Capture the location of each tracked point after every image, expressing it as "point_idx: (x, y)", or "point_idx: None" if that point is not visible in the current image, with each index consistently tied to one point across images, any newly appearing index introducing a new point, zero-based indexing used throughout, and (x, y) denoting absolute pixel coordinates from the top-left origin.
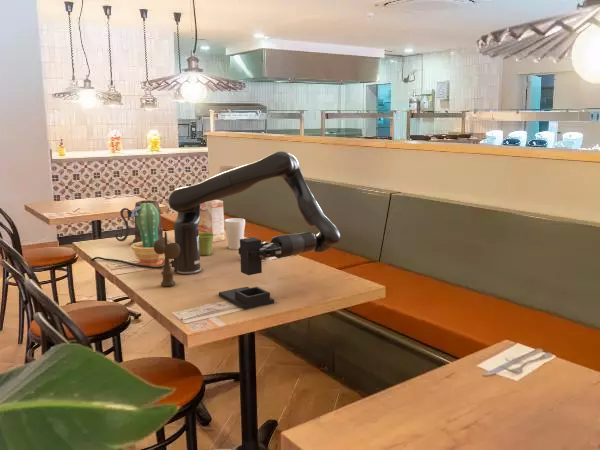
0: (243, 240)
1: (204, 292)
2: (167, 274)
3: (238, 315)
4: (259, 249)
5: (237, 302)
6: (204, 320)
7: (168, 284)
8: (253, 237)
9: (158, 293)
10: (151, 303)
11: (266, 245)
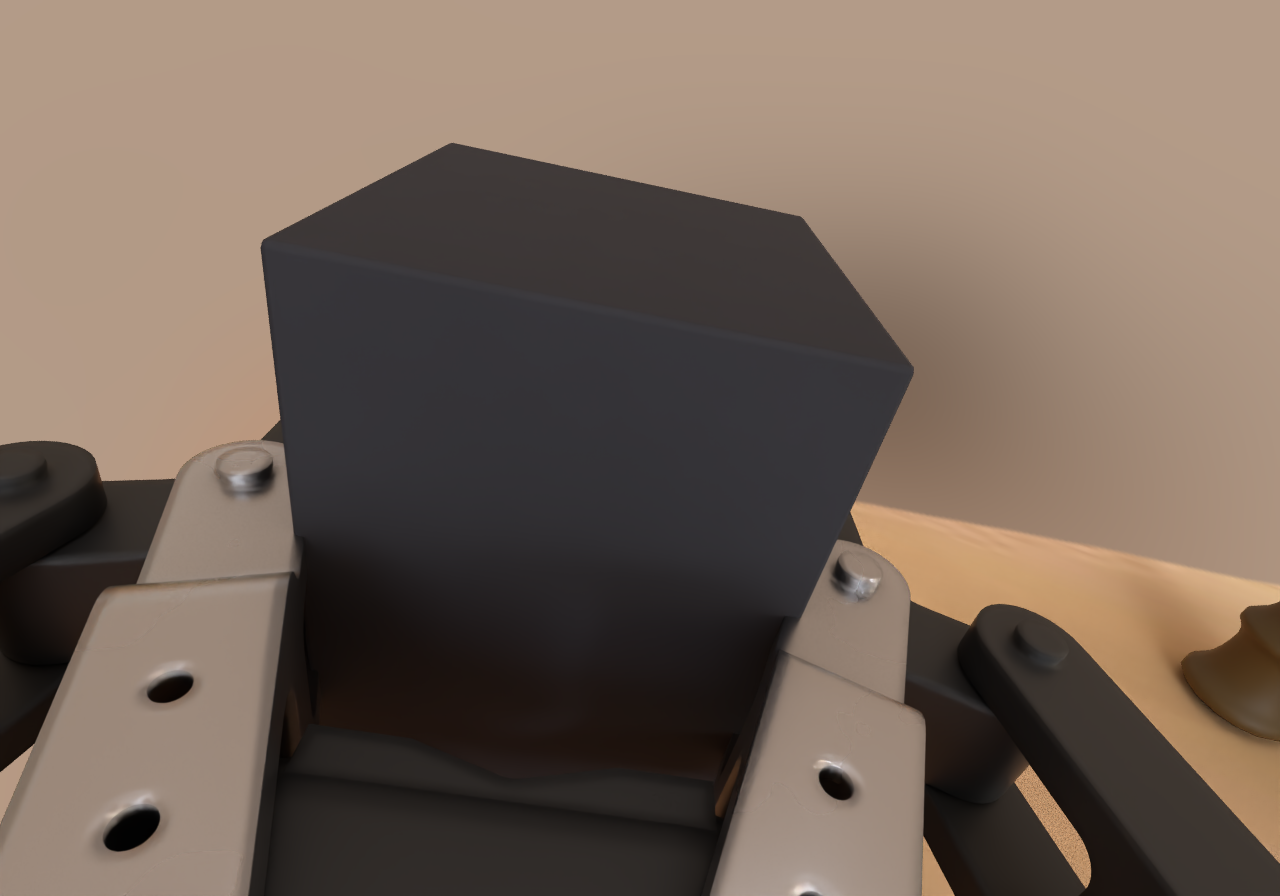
0: (645, 185)
1: None
2: (1244, 618)
3: None
4: (244, 442)
5: None
6: None
7: (1193, 669)
8: (869, 353)
9: (1045, 593)
10: (871, 506)
11: (190, 730)
